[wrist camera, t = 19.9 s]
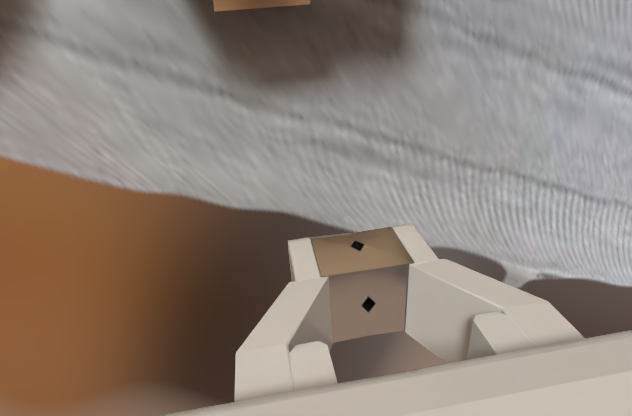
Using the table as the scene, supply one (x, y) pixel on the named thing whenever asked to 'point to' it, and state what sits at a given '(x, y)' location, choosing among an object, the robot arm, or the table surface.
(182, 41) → the table surface
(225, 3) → the tray
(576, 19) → the table surface
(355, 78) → the table surface
